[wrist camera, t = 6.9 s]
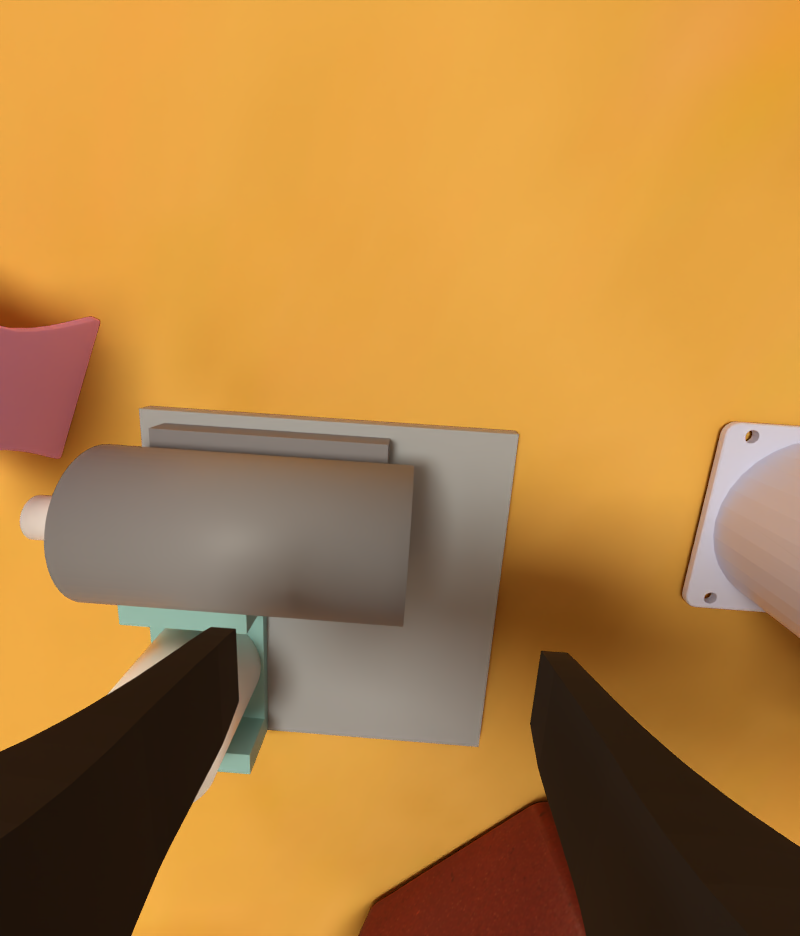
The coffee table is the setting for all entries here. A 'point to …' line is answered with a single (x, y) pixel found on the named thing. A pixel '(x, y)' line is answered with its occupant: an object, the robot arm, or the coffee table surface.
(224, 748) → the cream canister
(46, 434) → the toy chair
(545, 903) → the plant pot
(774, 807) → the coffee table surface
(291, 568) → the motor assembly
